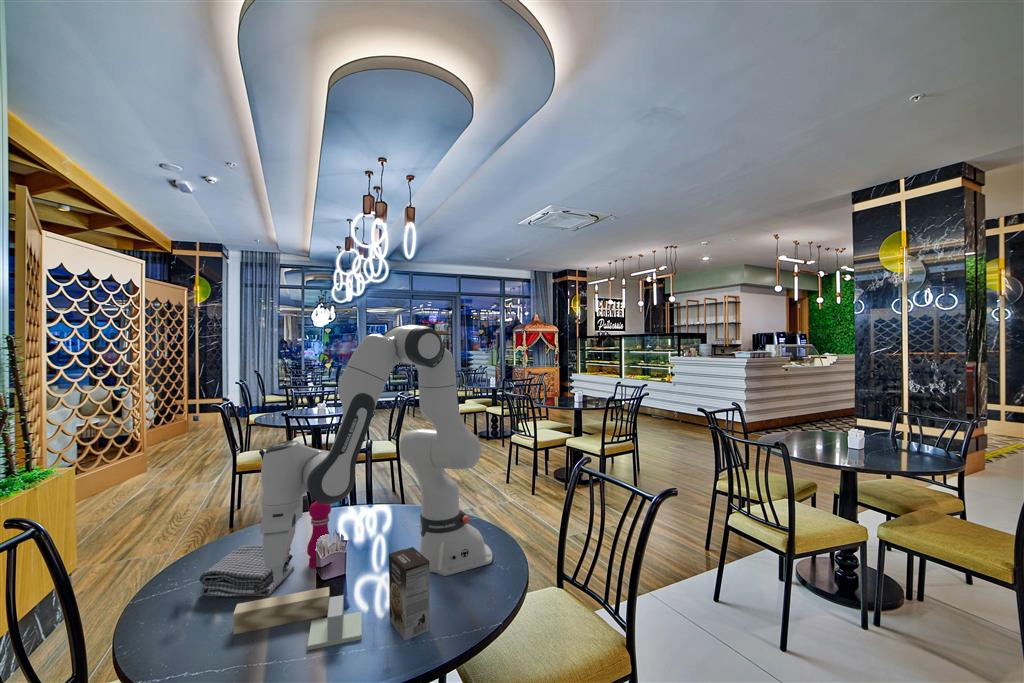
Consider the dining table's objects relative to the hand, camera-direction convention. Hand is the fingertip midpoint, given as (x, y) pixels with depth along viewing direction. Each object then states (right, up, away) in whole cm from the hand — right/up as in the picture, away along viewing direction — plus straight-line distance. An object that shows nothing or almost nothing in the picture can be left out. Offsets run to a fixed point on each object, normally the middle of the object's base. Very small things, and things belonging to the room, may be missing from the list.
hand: (281, 570), depth 107 cm
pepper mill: (-2, -12, +27) cm, 30 cm away
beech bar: (0, -12, +1) cm, 12 cm away
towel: (-17, -12, +17) cm, 27 cm away
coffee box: (+31, -12, -2) cm, 33 cm away
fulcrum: (+15, -12, -4) cm, 19 cm away
